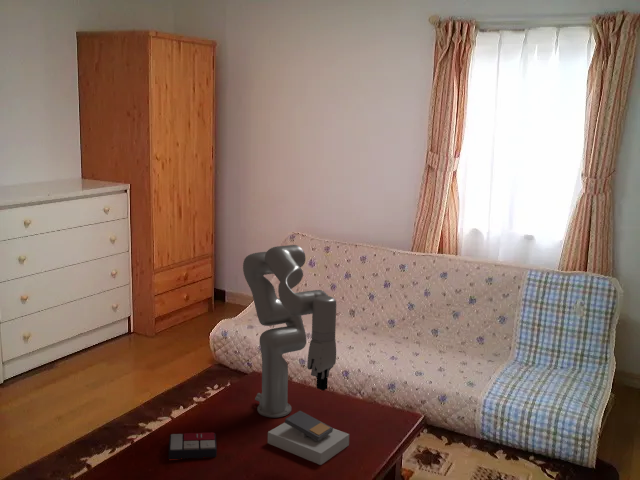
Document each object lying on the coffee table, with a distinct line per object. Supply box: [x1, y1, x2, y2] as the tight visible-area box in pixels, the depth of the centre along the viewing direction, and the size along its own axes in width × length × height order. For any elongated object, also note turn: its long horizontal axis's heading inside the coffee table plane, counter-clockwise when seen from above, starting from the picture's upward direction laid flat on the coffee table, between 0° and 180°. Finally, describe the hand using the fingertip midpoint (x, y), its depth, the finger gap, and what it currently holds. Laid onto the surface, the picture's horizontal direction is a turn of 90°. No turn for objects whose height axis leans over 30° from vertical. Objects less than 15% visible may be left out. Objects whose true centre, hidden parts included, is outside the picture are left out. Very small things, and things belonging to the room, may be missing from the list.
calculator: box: [167, 432, 218, 460], centre depth 206 cm, size 11×4×15 cm
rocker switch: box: [284, 410, 333, 441], centre depth 211 cm, size 14×8×2 cm, turn 54°
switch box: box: [267, 422, 350, 466], centre depth 211 cm, size 22×16×6 cm
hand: (321, 388), depth 206 cm, fingers closed
